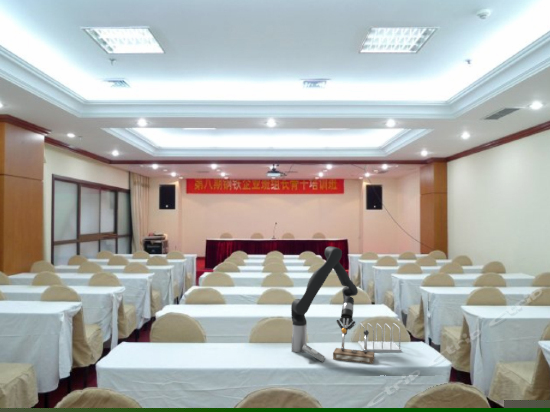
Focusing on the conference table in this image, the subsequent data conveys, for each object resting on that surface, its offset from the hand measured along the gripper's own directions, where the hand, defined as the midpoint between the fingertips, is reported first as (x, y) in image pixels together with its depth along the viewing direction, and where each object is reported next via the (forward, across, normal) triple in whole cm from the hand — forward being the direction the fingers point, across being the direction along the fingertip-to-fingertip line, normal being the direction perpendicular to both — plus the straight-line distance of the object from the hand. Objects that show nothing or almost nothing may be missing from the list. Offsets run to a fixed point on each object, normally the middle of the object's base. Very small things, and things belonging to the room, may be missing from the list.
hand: (344, 334), depth 263 cm
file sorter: (-5, +20, +23) cm, 31 cm away
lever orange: (+12, 0, 0) cm, 12 cm away
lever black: (+12, +14, 0) cm, 18 cm away
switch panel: (+14, +7, +3) cm, 16 cm away
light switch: (+21, -16, -3) cm, 27 cm away
